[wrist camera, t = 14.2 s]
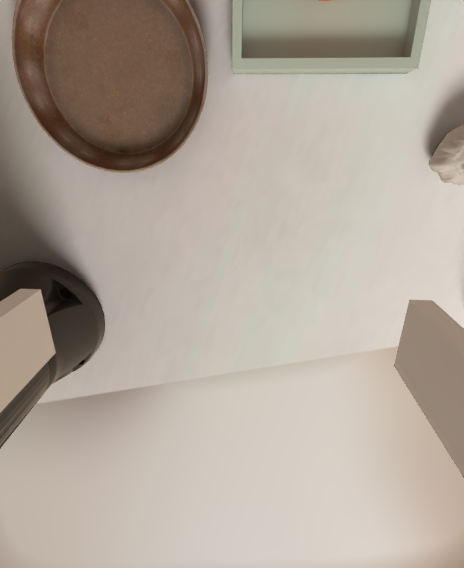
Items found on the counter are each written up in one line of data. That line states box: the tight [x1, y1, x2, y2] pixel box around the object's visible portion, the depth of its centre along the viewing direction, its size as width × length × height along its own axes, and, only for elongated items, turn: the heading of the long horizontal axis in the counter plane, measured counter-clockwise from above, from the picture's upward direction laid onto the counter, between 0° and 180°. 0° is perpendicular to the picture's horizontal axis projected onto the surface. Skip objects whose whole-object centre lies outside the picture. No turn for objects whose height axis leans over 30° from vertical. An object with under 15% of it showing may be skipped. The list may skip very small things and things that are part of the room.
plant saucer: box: [12, 0, 208, 173], centre depth 32 cm, size 18×18×3 cm
